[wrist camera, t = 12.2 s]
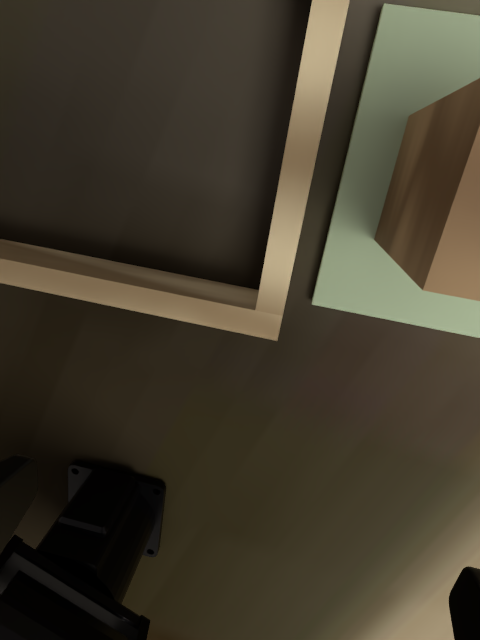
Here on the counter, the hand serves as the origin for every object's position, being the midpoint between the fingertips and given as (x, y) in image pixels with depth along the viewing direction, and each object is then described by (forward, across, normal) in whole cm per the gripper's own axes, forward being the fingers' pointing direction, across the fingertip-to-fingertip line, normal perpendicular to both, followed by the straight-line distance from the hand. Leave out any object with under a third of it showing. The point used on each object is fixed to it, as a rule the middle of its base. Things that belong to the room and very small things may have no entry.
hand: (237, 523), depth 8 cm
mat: (+13, -6, -7) cm, 16 cm away
